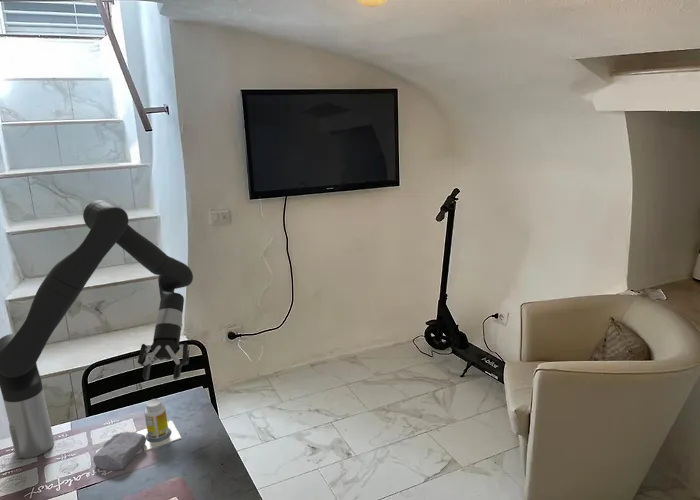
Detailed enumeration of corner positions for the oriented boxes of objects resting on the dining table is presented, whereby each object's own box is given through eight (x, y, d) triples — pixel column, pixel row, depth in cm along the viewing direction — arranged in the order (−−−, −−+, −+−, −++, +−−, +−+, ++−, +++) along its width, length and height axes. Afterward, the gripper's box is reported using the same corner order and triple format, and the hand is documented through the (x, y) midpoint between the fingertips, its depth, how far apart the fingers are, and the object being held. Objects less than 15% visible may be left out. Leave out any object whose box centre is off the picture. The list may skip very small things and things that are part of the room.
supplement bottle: (170, 427, 155) (165, 396, 152) (167, 438, 150) (162, 406, 147) (150, 429, 154) (145, 398, 151) (146, 441, 149) (141, 409, 146)
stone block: (92, 474, 140) (124, 471, 137) (86, 458, 139) (118, 455, 136) (120, 446, 151) (150, 443, 148) (114, 431, 150) (145, 428, 147)
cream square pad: (144, 451, 145) (144, 450, 145) (136, 432, 154) (136, 431, 153) (181, 438, 151) (181, 437, 150) (171, 421, 159) (171, 420, 159)
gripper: (140, 322, 159) (131, 376, 151) (188, 321, 159) (181, 375, 151) (149, 331, 166) (140, 383, 158) (195, 330, 166) (188, 382, 158)
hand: (160, 379), depth 155 cm, fingers open, 8 cm apart
